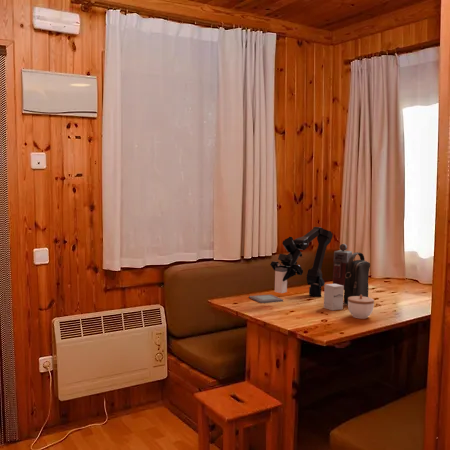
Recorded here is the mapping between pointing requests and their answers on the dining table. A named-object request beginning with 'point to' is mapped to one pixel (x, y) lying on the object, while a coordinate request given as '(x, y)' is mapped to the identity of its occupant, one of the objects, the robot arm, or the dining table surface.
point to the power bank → (280, 280)
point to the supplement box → (333, 296)
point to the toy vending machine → (340, 264)
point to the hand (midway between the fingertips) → (279, 280)
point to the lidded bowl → (360, 306)
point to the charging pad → (266, 298)
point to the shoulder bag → (356, 277)
